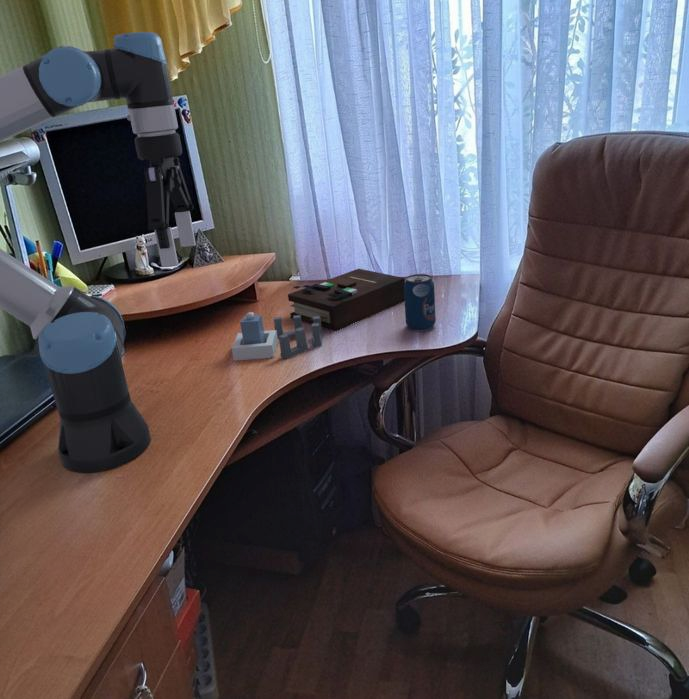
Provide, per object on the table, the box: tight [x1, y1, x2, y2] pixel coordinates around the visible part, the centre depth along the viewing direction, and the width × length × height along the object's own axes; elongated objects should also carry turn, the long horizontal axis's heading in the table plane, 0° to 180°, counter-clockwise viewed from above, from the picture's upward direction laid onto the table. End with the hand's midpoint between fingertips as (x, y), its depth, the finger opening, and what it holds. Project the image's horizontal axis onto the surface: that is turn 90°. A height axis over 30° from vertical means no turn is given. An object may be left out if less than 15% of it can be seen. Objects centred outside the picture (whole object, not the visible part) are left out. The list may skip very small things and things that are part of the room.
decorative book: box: [287, 268, 406, 332], centre depth 170 cm, size 19×8×30 cm
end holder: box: [230, 329, 279, 362], centre depth 150 cm, size 9×9×3 cm
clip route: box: [273, 315, 324, 360], centre depth 150 cm, size 11×14×5 cm
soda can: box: [404, 273, 437, 332], centre depth 153 cm, size 7×7×12 cm
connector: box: [240, 311, 266, 345], centre depth 149 cm, size 4×4×9 cm
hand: (179, 255), depth 120 cm, fingers open, 13 cm apart
